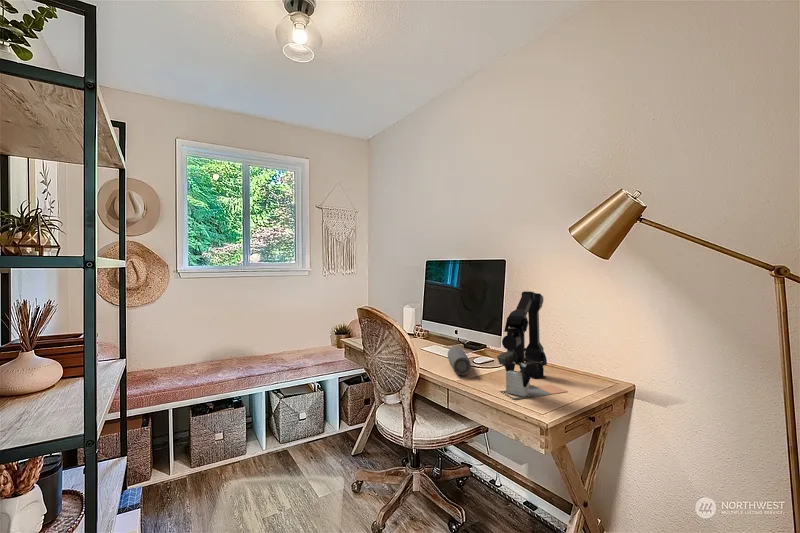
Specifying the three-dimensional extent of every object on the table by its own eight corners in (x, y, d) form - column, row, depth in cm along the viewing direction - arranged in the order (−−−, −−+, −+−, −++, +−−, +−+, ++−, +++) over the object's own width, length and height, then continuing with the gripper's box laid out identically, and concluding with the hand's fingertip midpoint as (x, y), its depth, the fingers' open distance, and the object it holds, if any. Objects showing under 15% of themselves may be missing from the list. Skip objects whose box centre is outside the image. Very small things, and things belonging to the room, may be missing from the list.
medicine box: (528, 394, 155) (528, 373, 155) (524, 397, 151) (524, 375, 151) (510, 390, 160) (510, 369, 160) (505, 392, 157) (505, 371, 157)
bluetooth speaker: (472, 377, 179) (472, 356, 179) (452, 377, 179) (452, 356, 179) (464, 364, 202) (464, 345, 202) (446, 364, 202) (446, 345, 202)
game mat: (499, 392, 159) (499, 391, 159) (550, 384, 168) (550, 383, 168) (514, 400, 149) (514, 399, 149) (567, 391, 158) (567, 391, 158)
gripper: (487, 342, 162) (487, 379, 162) (515, 352, 144) (515, 393, 144) (509, 340, 165) (509, 376, 166) (539, 349, 148) (539, 389, 148)
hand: (517, 383), depth 156 cm, fingers open, 9 cm apart
